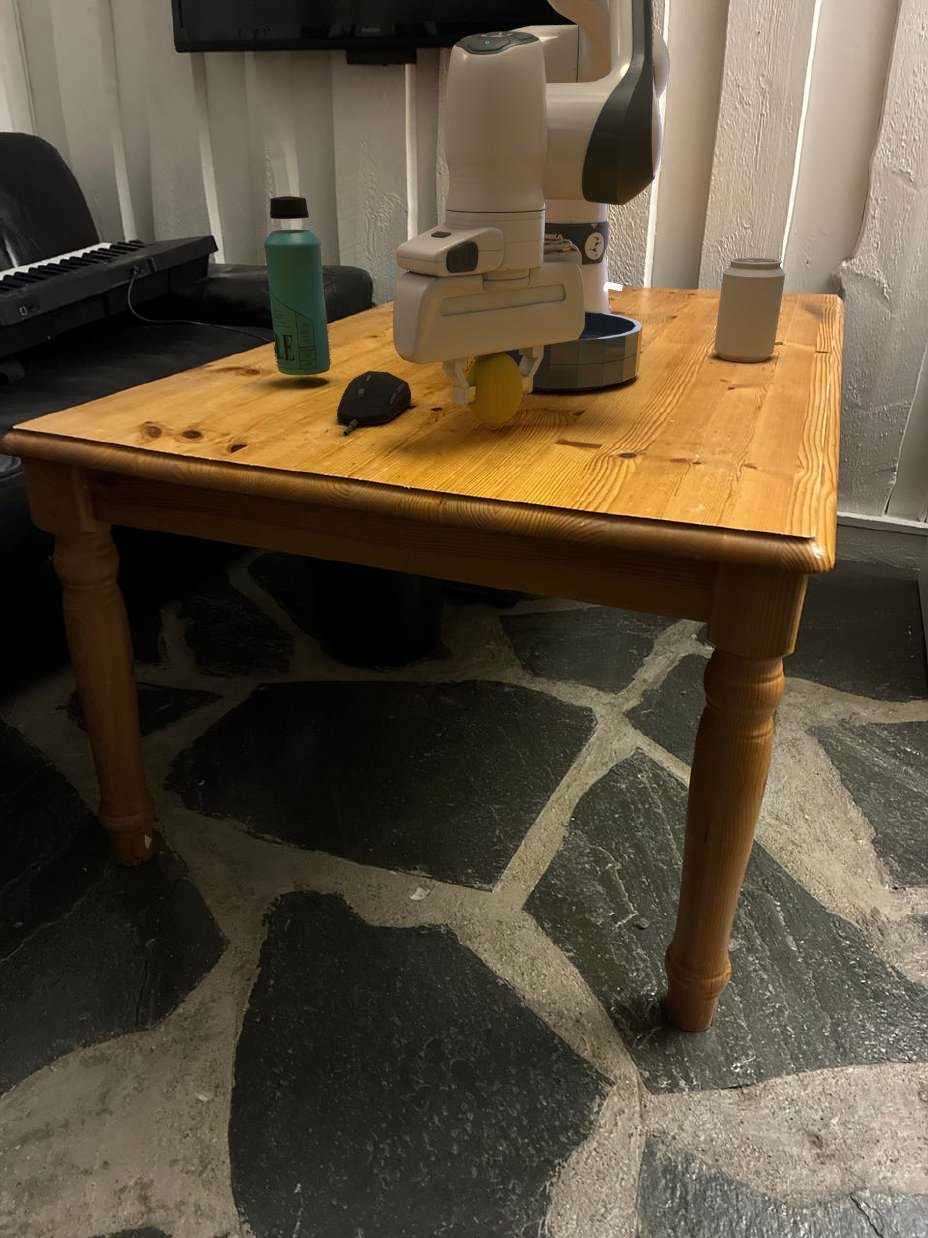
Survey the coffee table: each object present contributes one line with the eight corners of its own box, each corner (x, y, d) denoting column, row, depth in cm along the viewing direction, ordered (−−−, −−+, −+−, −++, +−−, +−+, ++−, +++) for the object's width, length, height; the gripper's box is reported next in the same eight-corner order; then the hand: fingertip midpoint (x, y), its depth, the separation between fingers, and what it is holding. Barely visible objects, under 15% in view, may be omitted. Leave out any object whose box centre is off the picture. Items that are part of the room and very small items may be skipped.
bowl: (442, 371, 112) (441, 321, 109) (563, 351, 122) (565, 304, 119) (545, 404, 97) (547, 347, 95) (672, 378, 107) (677, 326, 105)
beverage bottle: (342, 377, 109) (329, 194, 99) (316, 391, 103) (300, 198, 94) (294, 374, 111) (277, 193, 101) (266, 386, 105) (245, 197, 96)
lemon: (463, 423, 91) (462, 341, 88) (517, 421, 92) (519, 340, 88) (467, 438, 87) (467, 353, 83) (525, 437, 87) (527, 352, 83)
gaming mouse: (314, 433, 89) (311, 392, 87) (365, 395, 101) (363, 359, 99) (376, 437, 87) (373, 396, 85) (419, 398, 100) (418, 362, 98)
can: (775, 364, 114) (791, 262, 108) (714, 362, 115) (726, 261, 110) (770, 352, 120) (784, 255, 115) (712, 350, 122) (723, 254, 116)
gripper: (559, 234, 89) (553, 377, 95) (380, 249, 78) (387, 407, 85) (604, 240, 84) (594, 388, 91) (419, 255, 74) (424, 422, 80)
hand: (493, 398), depth 88 cm, fingers closed on lemon, 5 cm apart
